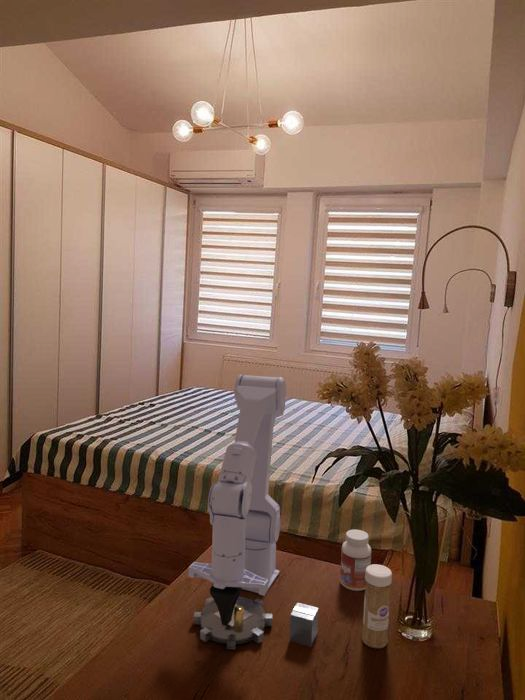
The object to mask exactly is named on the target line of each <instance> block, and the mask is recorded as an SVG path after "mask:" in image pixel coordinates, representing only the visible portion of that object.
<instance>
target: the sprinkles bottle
mask: <svg viewBox="0 0 525 700" xmlns="http://www.w3.org/2000/svg"><path fill="white" fill-rule="evenodd" d="M392 579H393V573H392V570H391V569H390V568H388V567H387V566H385V565H383V564H376V563H375V564H373V563H372V564H371V565H369V566H368V567H367V568H366V572H365V581H366V587H365V589H364V595H363V596H364V600H363V618H362V623H363V625H362V635H361V641H362V642H363V643H364V644H365V645H366V646H368V647H369V648H373V649H383V648H385V647H386V646H387V644H388V629H389V619H390V599H391V598H390V597H391V596H390V594H391V584H392V582H393V581H392Z"/></svg>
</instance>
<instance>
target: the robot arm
mask: <svg viewBox="0 0 525 700" xmlns="http://www.w3.org/2000/svg"><path fill="white" fill-rule="evenodd" d="M233 391H234V392H233V393H234V395H233V396H234V400H235V402H236V407H237V409H238V410H239V415H238V420H237V426H236V432H235V438H234V441H233V442H232V443H231V444H229V445H227V447H226V450H225V454H224V457H223V461H222V464H221V468H220V471H219V475H218V477H217V478H218V479H217V481H216V482H213V483H212V485H211V486H210V488H209V493H208V498H207V511H208V513H209V523H210V525H211V526H212V534H211V535H212V539H211V542H212V543H211V544H212V545H211V556H212V557H211V563H207V562H205V563H204V562H196V561H193V562H192V563H191V564H190V565H189V566H188V578H192V579H195V578H196V577H197V578H200V579H201V578H202V579H205V580H207V581H209V582H211V583H212V584H211V586H210V588H209V594H210V597H212V598H213V599H214V601H215V603H216V605H217V608H218V610H219V614H220V618H221V622H222V625H225V626H227V625H228V624H229V623H230V621H231V619H232V614H233V610H234V607H235V604H236V601H237V599H238V597H240V595H241V592H242V591H243V590H245V591H249V592H251V593H256V594H258V595H260V596H265V595H266V594H267V592H268V591H269V589H270V587H271V586H272V584H273V582H275V580H276V579H277V577H278V575H280V570H278V569H276V564H277V563H276V560H277V559H276V558H277V556H276V555H277V544H276V543H277V541H278V540H279V536H280V531H281V529H280V528H281V515H280V514H281V508H280V505H279V504H278V503H277V502H276V501H275V500H274V498H272V497H271V496H270V495H269V490H270V489H269V487H270V477H271V476H270V475H271V462H272V450H273V449H272V448H273V438H274V437H273V436H274V425H275V423H276V419H277V418H280V417H282V416H284V412H285V409H286V399H287V396H286V395H287V383H286V379H284V377H283V376H277V377H276V376H263V375H248V374H243V373H242V374H239V375H238V376H237V378H236V379H235V383H234V390H233Z"/></svg>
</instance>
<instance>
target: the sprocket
mask: <svg viewBox="0 0 525 700" xmlns="http://www.w3.org/2000/svg"><path fill="white" fill-rule="evenodd" d="M204 603H205V604H204V605H205V606H204V607H203V608H202V610H201V611H194V614H193V625H200V631H199V639H200V640H201V641H202V642H204V643H207V642H208V641H210V640H212V641H214V642H216V643H219V644H223V645H226V649H227V650H236V645H242V644H246V643H250V642H252V641H254V642H255V643H256V644H260V643H261V642H262V641H264V637H265V628H266V627H273V613H266V611H265V609H264V600H262V599H261V598H259V597H257V598H255V599H254V600H253V599H250V598H247V597H244V596H239V597H238V599H237V601H236V604H235V607H234V610H233V614H232V619H231V621H230V623H229V624H228V625H227V626H225V625H222V622H221V618H220V614H219V610H218V608H217V605H216V603H215V601H214V599H213V597H212V596H210V597H209V598H206V599H205V601H204Z"/></svg>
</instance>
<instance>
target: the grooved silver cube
mask: <svg viewBox="0 0 525 700" xmlns="http://www.w3.org/2000/svg"><path fill="white" fill-rule="evenodd" d="M289 616H290V620H289V622H290V623H289V642H293V643H296V644H300V645H303V646H307V647H310V648H311V647H312V646H313V644H314V642H315V639H316V637H317V635H318V630H319V627H318V626H319V607H317V606H313V605H309V604H305V603H300V602H297V603H296V604H295V606H294V608H293V609H292V610H291V613H290V615H289Z"/></svg>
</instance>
